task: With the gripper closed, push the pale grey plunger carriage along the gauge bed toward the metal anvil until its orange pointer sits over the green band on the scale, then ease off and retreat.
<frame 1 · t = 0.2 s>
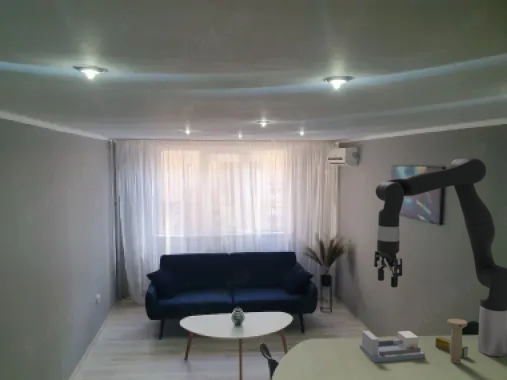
hand: (387, 283, 155), 28 cm above the table, fingers open, 8 cm apart
plunger: (405, 342, 164), point 4 cm above the table, slide at 0.0 cm
gauge bed: (391, 352, 164), on the table
medication box: (450, 352, 166), on the table
handle: (455, 362, 157), on the table
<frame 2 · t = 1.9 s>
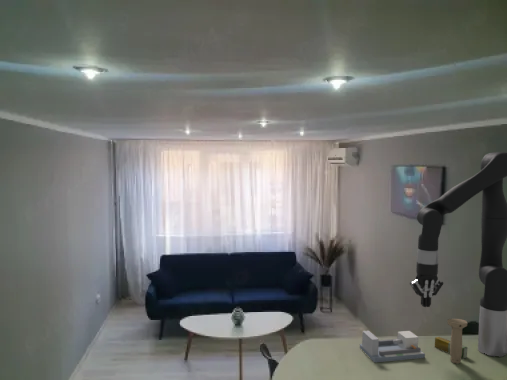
hand: (425, 306, 166), 17 cm above the table, fingers closed
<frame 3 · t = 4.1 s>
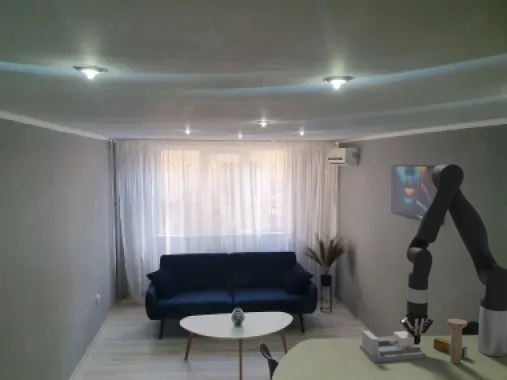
hand: (415, 343, 166), 3 cm above the table, fingers closed
plunger: (401, 342, 164), point 4 cm above the table, slide at 1.7 cm, touching gripper
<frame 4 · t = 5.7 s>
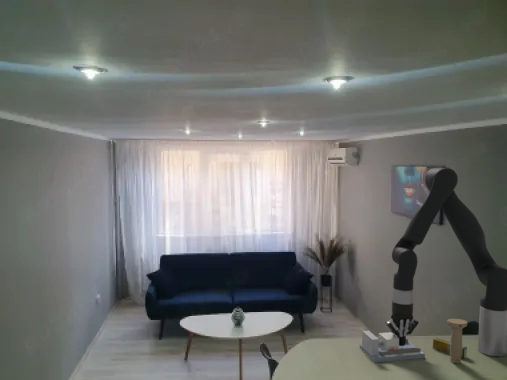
hand: (401, 345, 165), 3 cm above the table, fingers closed
plunger: (386, 343, 162), point 4 cm above the table, slide at 7.8 cm, touching gripper
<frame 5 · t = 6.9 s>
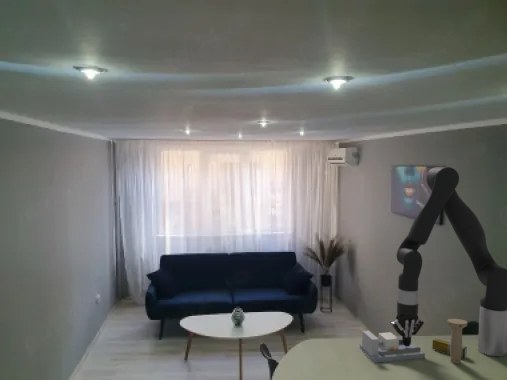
hand: (406, 345, 165), 2 cm above the table, fingers closed
plunger: (386, 343, 162), point 4 cm above the table, slide at 7.9 cm
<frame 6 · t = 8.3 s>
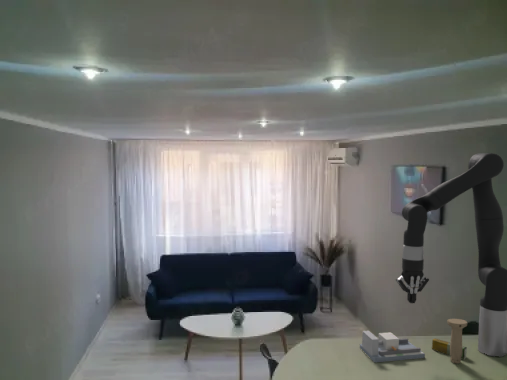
hand: (411, 302, 164), 19 cm above the table, fingers closed
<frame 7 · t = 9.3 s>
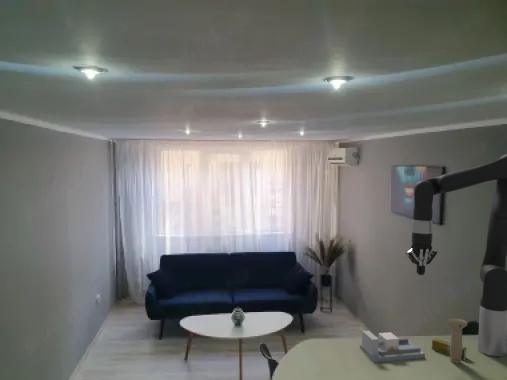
hand: (420, 274, 173), 27 cm above the table, fingers closed
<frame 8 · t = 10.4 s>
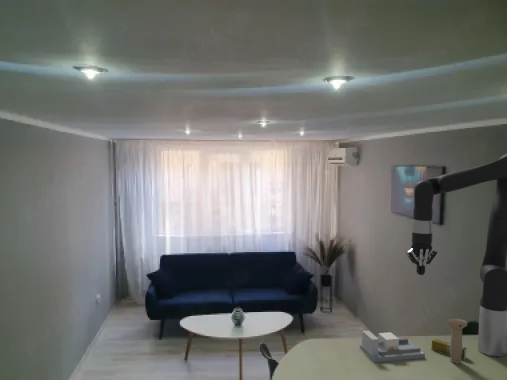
hand: (420, 274, 173), 27 cm above the table, fingers closed
at the end: plunger slide at 7.9 cm; the gripper is holding nothing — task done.
